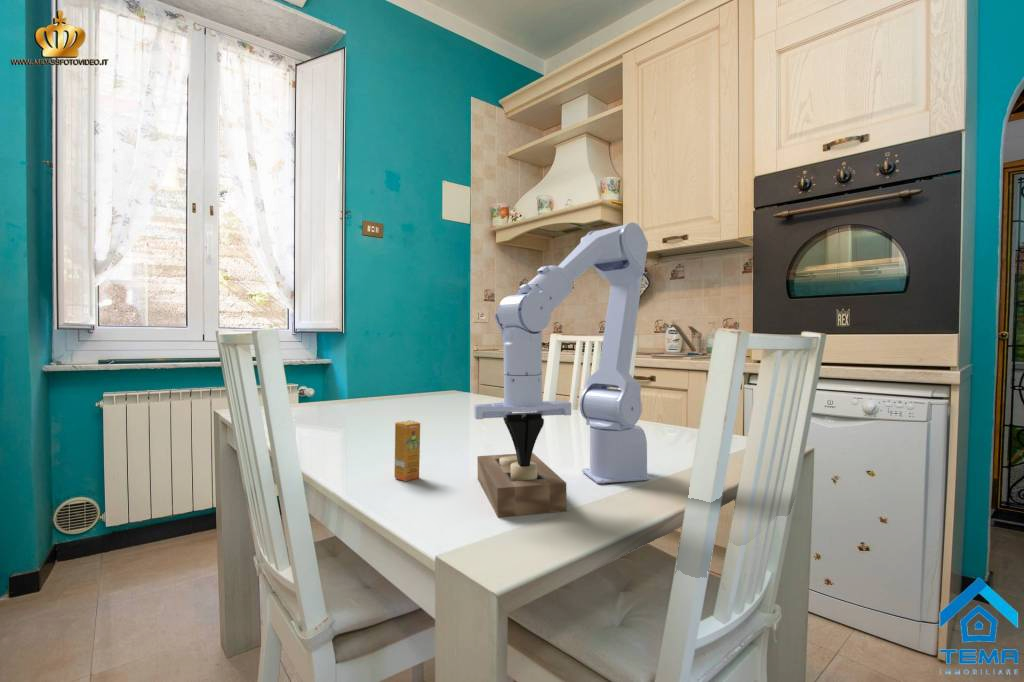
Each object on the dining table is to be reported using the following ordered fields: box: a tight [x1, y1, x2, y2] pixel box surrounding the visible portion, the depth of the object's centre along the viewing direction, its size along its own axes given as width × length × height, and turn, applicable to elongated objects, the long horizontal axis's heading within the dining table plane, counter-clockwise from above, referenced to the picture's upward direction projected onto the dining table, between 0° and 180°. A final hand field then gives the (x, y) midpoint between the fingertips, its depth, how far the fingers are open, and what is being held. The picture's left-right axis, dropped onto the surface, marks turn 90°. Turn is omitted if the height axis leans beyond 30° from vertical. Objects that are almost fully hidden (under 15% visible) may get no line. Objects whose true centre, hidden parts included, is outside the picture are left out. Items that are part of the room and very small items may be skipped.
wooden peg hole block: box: [477, 452, 568, 518], centre depth 80 cm, size 10×19×4 cm, turn 12°
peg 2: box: [511, 462, 537, 481], centre depth 75 cm, size 4×4×4 cm
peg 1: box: [499, 456, 518, 465], centre depth 84 cm, size 4×4×4 cm
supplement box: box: [394, 420, 421, 482], centre depth 89 cm, size 3×3×10 cm
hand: (523, 464), depth 75 cm, fingers closed, pressing on peg 2
